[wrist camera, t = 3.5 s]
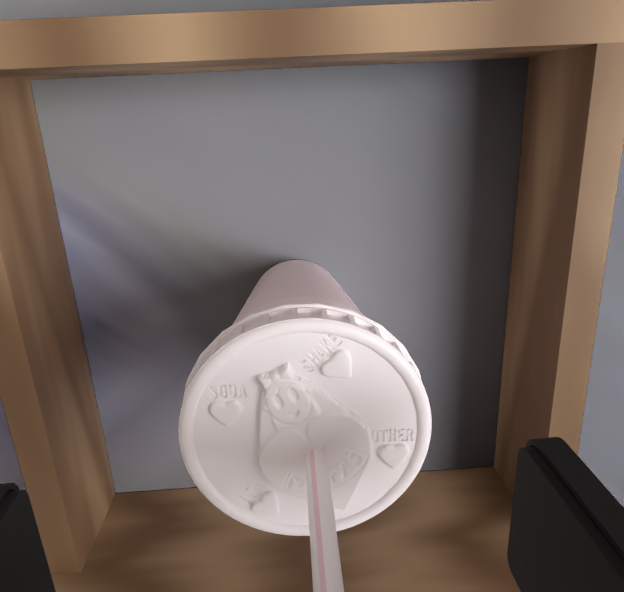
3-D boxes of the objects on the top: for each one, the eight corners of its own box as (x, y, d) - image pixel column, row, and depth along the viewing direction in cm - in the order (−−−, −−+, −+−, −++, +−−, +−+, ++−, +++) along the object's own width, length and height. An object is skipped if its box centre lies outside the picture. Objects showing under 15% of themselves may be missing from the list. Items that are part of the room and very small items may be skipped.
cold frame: (564, 19, 19) (714, -28, 12) (516, 485, 26) (596, 613, 19) (-14, 44, 18) (-180, 7, 12) (94, 515, 25) (27, 660, 19)
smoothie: (260, 392, 23) (231, 756, 10) (191, 265, 21) (45, 518, 8) (394, 336, 23) (547, 645, 10) (337, 200, 21) (432, 359, 8)
